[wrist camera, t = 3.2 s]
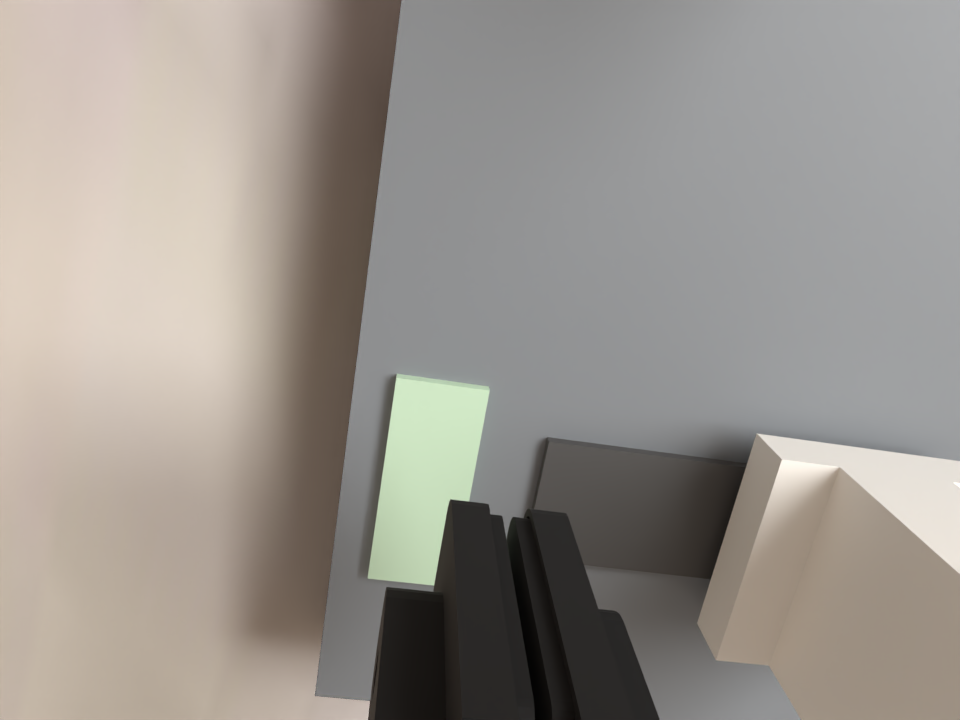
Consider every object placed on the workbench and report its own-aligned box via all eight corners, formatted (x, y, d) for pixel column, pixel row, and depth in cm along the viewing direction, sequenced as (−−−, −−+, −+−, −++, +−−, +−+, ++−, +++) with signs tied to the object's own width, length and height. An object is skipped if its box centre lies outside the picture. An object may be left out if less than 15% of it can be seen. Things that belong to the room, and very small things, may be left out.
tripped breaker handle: (890, 643, 15) (1180, 984, 9) (697, 623, 14) (872, 968, 9) (966, 462, 13) (1357, 724, 8) (756, 433, 13) (1008, 690, 7)
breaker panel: (1049, 700, 19) (1126, 774, 17) (328, 629, 17) (313, 703, 15) (1695, -562, 11) (1981, -712, 9) (530, -964, 9) (558, -1272, 7)
